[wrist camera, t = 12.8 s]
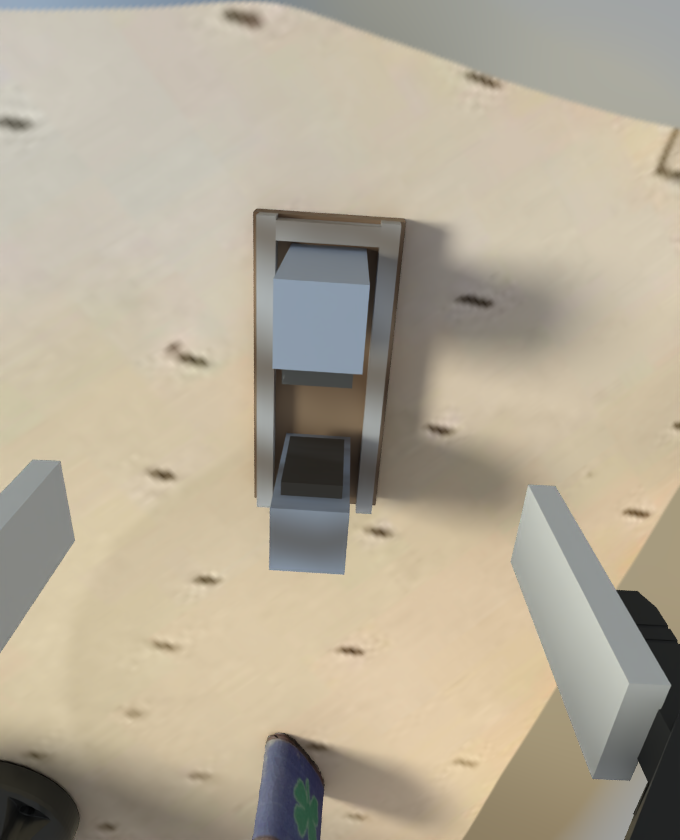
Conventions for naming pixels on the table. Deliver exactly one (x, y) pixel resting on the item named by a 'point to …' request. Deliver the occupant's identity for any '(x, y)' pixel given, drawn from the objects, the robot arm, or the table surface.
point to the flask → (288, 793)
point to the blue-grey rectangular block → (320, 315)
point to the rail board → (320, 398)
